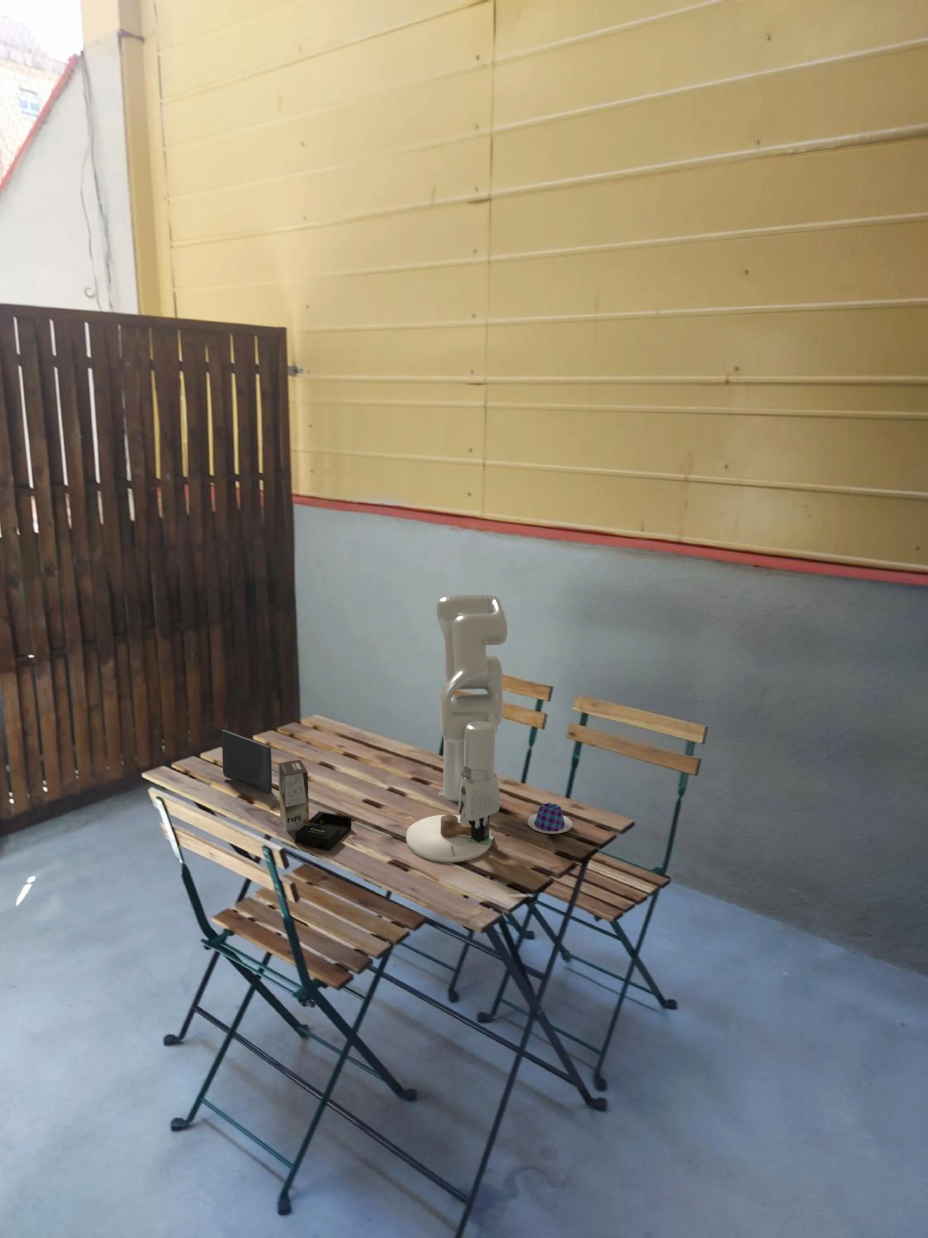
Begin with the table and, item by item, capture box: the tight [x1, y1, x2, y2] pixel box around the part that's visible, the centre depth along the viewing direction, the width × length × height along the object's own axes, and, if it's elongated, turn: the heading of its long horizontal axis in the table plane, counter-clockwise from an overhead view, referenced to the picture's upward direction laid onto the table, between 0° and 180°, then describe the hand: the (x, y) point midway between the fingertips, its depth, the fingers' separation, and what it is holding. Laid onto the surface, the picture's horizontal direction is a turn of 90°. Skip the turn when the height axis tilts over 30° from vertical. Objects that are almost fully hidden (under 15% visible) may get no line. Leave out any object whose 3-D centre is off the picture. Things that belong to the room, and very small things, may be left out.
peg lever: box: [441, 814, 491, 840], centre depth 212 cm, size 13×4×5 cm, turn 78°
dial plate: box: [405, 814, 495, 863], centre depth 214 cm, size 22×22×2 cm
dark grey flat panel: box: [221, 729, 273, 794], centre depth 241 cm, size 20×2×15 cm, turn 57°
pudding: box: [527, 802, 573, 835], centre depth 223 cm, size 12×12×5 cm
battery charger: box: [294, 811, 353, 852], centre depth 214 cm, size 13×10×4 cm
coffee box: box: [277, 759, 310, 832], centre depth 219 cm, size 9×6×16 cm
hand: (477, 839), depth 208 cm, fingers closed
